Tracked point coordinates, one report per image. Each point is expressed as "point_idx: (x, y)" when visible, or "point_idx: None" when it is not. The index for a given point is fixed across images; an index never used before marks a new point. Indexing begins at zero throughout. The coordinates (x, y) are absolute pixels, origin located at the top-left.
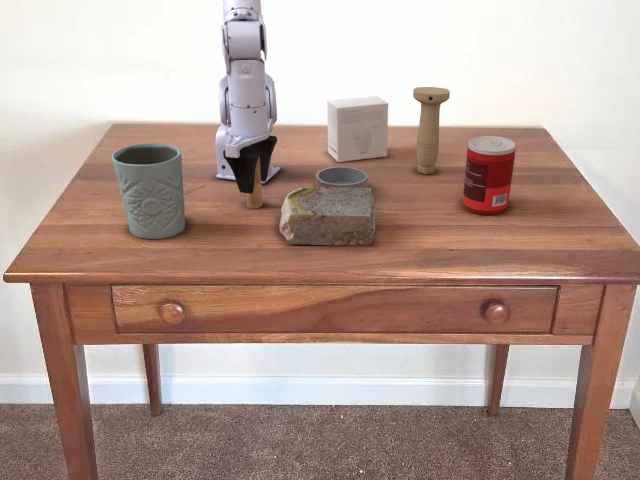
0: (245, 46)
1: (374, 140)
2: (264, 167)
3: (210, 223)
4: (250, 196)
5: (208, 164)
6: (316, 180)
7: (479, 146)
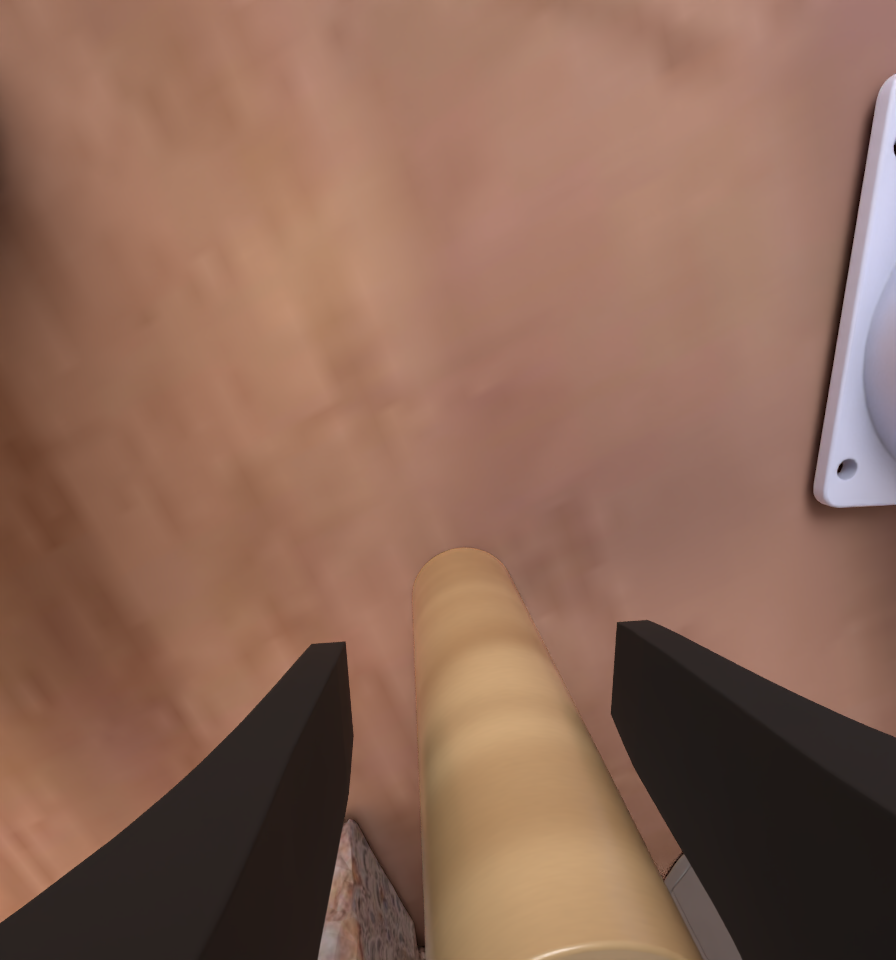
0: None
1: None
2: (687, 830)
3: (66, 463)
4: (414, 642)
5: None
6: None
7: None
